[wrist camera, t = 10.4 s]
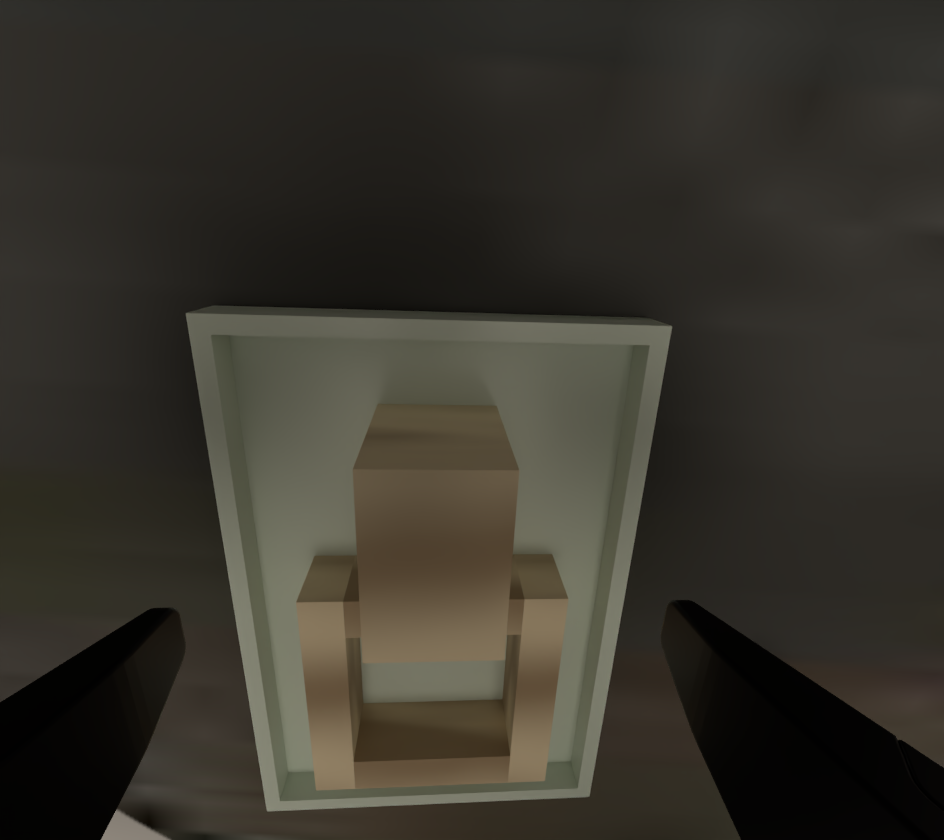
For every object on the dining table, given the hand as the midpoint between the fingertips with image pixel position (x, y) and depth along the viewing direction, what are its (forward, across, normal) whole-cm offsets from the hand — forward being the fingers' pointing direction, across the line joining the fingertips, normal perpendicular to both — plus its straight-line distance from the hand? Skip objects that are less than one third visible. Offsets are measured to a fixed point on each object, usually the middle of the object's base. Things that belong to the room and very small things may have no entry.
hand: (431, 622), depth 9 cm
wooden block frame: (+8, 0, +6) cm, 10 cm away
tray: (+9, 0, +6) cm, 11 cm away
